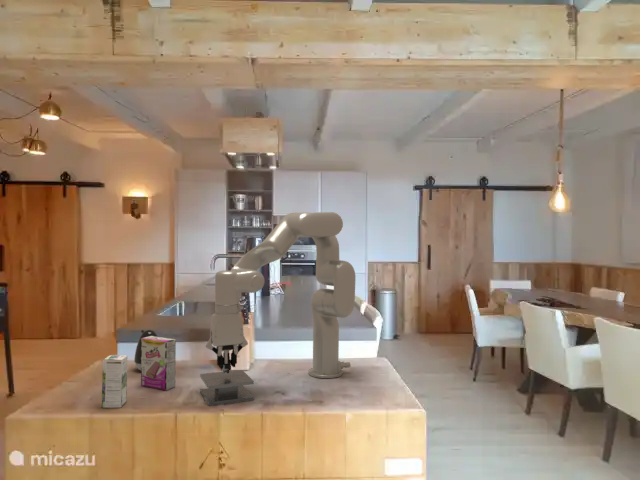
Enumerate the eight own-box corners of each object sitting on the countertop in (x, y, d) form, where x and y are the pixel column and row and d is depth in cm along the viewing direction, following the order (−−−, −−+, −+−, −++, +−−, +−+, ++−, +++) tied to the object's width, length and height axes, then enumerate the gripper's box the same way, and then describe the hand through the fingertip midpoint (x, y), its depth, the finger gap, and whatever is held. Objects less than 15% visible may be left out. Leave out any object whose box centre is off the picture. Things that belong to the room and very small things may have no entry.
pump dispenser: (154, 365, 203) (154, 326, 203) (167, 370, 196) (168, 330, 196) (129, 369, 196) (129, 329, 196) (142, 375, 189) (142, 333, 188)
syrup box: (107, 402, 160) (107, 354, 159) (127, 401, 160) (127, 354, 160) (101, 408, 154) (101, 359, 154) (122, 408, 154) (122, 359, 154)
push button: (234, 374, 163) (234, 343, 163) (216, 375, 163) (216, 343, 162) (235, 369, 170) (235, 338, 170) (218, 369, 169) (218, 338, 169)
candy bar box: (139, 386, 175) (140, 338, 175) (150, 382, 180) (150, 335, 180) (165, 391, 171) (166, 341, 170) (176, 387, 175) (176, 338, 175)
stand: (242, 387, 176) (242, 369, 175) (253, 400, 163) (253, 381, 163) (200, 392, 170) (200, 373, 170) (208, 405, 157) (208, 385, 157)
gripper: (249, 306, 173) (248, 361, 173) (198, 309, 166) (198, 366, 166) (255, 309, 166) (255, 367, 166) (203, 312, 159) (203, 372, 160)
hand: (227, 366), depth 166 cm, fingers closed on push button, 3 cm apart
